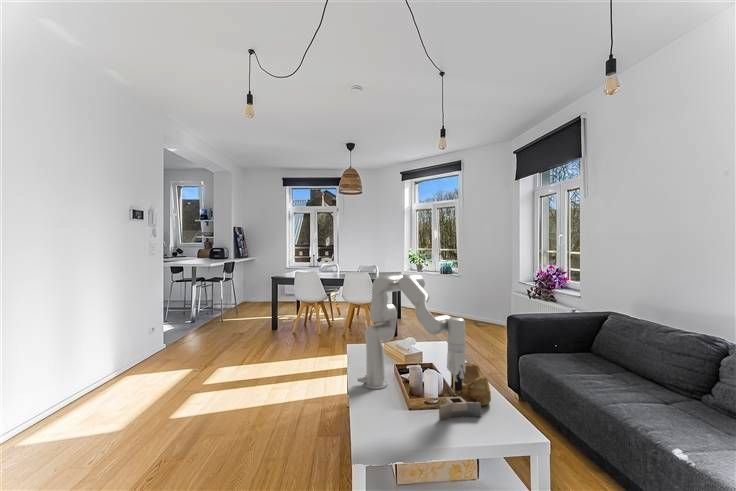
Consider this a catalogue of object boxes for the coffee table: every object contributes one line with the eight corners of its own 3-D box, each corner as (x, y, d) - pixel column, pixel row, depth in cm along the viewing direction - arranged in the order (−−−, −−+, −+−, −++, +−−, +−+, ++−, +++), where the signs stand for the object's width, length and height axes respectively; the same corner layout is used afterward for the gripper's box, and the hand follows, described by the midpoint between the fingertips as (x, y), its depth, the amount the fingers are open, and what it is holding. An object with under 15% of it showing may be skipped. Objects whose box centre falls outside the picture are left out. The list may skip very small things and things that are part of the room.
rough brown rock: (446, 390, 195) (444, 362, 195) (478, 387, 196) (476, 359, 195) (458, 412, 172) (455, 379, 172) (494, 408, 173) (492, 376, 172)
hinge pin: (454, 393, 165) (454, 373, 165) (452, 391, 168) (452, 370, 168) (461, 393, 165) (461, 372, 165) (458, 390, 168) (458, 370, 168)
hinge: (439, 420, 160) (439, 406, 160) (433, 412, 169) (433, 398, 169) (481, 417, 164) (481, 403, 164) (472, 409, 172) (472, 395, 172)
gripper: (441, 342, 174) (441, 383, 174) (455, 352, 158) (456, 396, 158) (457, 341, 175) (457, 381, 175) (472, 351, 159) (473, 395, 159)
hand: (456, 388), depth 167 cm, fingers closed on hinge pin, 3 cm apart
